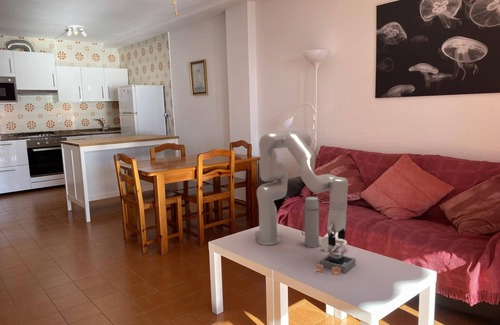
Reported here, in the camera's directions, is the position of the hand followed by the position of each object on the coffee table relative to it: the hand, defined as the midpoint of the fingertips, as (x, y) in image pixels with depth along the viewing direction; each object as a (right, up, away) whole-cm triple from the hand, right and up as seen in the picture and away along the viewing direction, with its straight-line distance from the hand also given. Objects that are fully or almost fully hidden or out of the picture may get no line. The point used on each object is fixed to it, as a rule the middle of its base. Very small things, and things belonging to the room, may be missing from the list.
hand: (336, 241), depth 171 cm
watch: (0, -11, +1) cm, 11 cm away
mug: (+4, -8, +21) cm, 23 cm away
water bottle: (-8, -8, +28) cm, 30 cm away
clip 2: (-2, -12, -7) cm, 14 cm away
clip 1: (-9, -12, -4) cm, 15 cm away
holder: (+1, -11, +1) cm, 11 cm away
